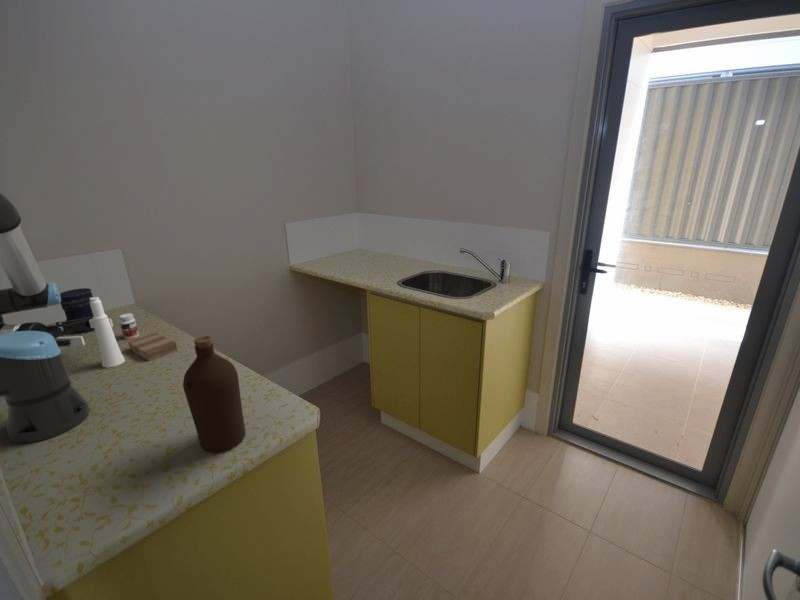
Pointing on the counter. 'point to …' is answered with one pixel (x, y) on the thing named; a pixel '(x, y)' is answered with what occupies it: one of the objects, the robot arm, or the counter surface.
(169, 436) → the counter surface
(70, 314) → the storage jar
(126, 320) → the pill bottle
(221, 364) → the olive oil
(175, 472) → the counter surface
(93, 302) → the cosmetic bottle
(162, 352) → the walnut board
